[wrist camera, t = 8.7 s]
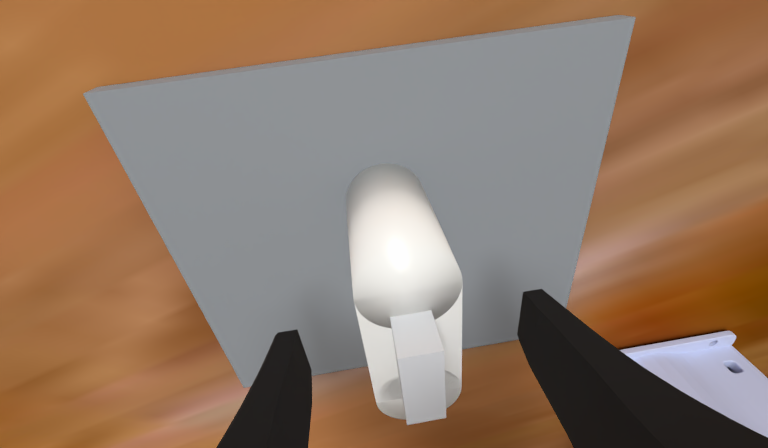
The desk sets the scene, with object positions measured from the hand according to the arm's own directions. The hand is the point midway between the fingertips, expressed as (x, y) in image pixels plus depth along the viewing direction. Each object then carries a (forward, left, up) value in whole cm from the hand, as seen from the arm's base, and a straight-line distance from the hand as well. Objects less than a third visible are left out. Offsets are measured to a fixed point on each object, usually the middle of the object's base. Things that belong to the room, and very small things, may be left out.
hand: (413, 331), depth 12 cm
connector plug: (0, 0, -4) cm, 4 cm away
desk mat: (0, 0, -5) cm, 5 cm away
